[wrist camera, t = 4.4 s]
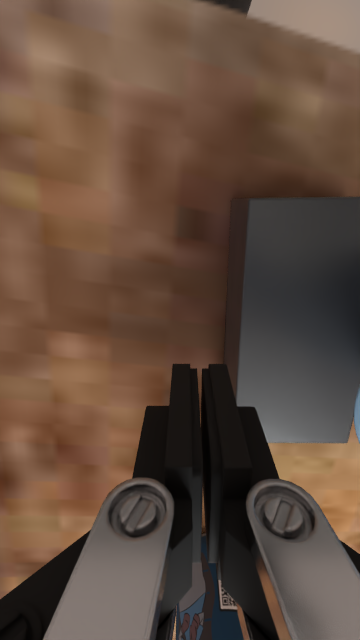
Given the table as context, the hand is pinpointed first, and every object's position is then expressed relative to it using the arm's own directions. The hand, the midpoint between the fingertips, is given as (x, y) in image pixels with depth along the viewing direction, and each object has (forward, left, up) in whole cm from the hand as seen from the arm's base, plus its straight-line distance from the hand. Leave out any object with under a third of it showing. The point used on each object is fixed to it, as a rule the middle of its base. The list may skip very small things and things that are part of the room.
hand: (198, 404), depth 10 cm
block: (0, +5, -10) cm, 11 cm away
